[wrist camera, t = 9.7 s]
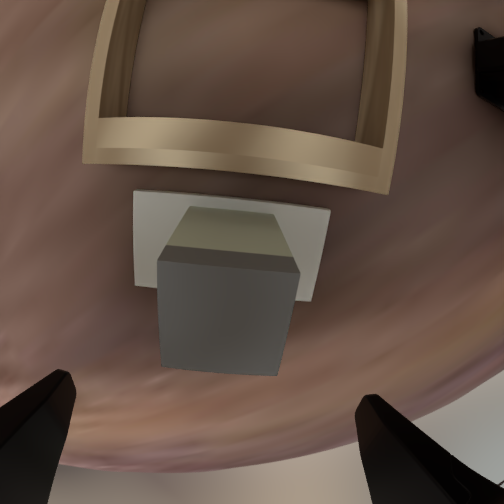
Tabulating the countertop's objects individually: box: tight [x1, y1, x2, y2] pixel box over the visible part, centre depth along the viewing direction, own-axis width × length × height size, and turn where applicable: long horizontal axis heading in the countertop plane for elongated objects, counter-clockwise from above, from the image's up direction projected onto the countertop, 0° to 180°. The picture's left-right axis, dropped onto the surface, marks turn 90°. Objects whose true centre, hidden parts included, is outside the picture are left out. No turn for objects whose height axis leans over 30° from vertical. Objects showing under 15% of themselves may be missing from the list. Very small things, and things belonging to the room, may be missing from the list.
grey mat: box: [133, 189, 331, 301], centre depth 19 cm, size 12×6×1 cm, turn 83°
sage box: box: [157, 206, 301, 376], centre depth 15 cm, size 5×5×8 cm
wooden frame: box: [82, 0, 407, 195], centre depth 13 cm, size 16×15×4 cm
